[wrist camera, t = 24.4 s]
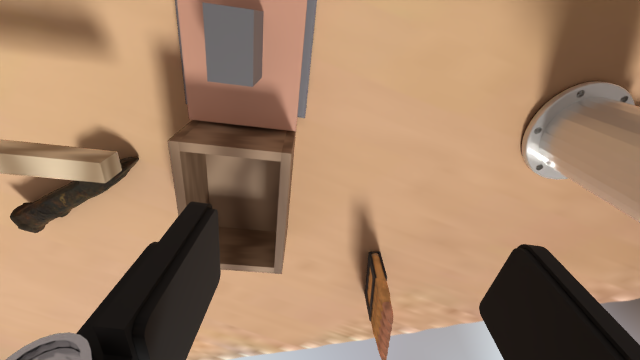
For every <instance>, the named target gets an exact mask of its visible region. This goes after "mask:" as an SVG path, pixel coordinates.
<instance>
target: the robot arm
mask: <svg viewBox="0 0 640 360" xmlns="http://www.w3.org/2000/svg"><path fill="white" fill-rule="evenodd" d="M522 156H523V159H524V162H525V163H526V165H527V166H528V167H529V168H530V169H531V170H532V171H534V172H535V173H537V174H538V175H540V176H542V177H545V178H548V179H568V178H569V179H570V180H572V181H574V182H575V183H577V184H578V185H580V186H582V187H583V188H585V189H586V190H588V191H590V192H591V193H593V194H594V195H596V196H598V197H599V198H601V199H602V200H604V201H606V202H607V203H609V204H611V205H612V206H614V207H615V208H617V209H619V210H620V211H622V212H623V213H625V214H627V215H628V216H630V217H631V218H633V219H635V220H636V221H638V222H639V223H640V107H639V106H635V103H634V100H633V98H632V96H631V94H630V93H629V92H628V91H627V90H626V89H624V88H623V87H621V86H619V85H616V84H612V83H608V82H600V81H596V82H587V83H583V84H579V85H576V86H573V87H571V88H568V89H566V90H564V91H563V92H561V93H559V94H558V95H556V96H555V97H553V98H552V99H551V100H549V101H548V102H547V103H546V104H545V105H544V106H543V107H542V108H541V109H540V110H539V111H538V112H537V113H536V115H535V116H534V117H533V119H532V120H531V121H530V123H529V125H528V127H527V129H526V131H525V134H524V137H523V141H522ZM220 272H221V271H220V248H219V224H218V211H217V210H216V209H212V205H211V204H209V203H201V202H193V201H192V202H190V203H189V204H188V205H187V206H186V207H185V209H184V210H183V211H182V213H181V214H180V215H179V216H178V218H177V219H176V220H175V222H174V223H173V224H172V225H171V227H170V228H169V229H168V230H167V232H166V233H165V234H164V236H163V237H162V238H161V239H160V241H159V242H153V243H151V244H150V245H149V246H148V247H147V248H146V249H145V250H144V251H143V253H142V254H141V255H140V256H139V258H138V259H137V260H136V261H135V262H134V264H133V265H132V266H131V267H130V269H129V270H128V271H127V272H126V273H125V275H124V276H123V277H122V278H121V280H120V281H119V282H118V283H117V284H116V286H115V287H114V288H113V289H112V291H111V292H110V293H109V294H108V296H107V297H106V298H105V299H104V300H103V302H102V303H101V304H100V305H99V307H98V308H97V309H96V310H95V311H94V313H93V314H92V315H91V316H90V318H89V319H88V320H87V321H86V323H85V324H84V325H83V326H82V327H81V329H80V330H79V331H78V332H77V334H74V333H59V334H53V335H50V336H47V337H43V338H40V339H38V340H36V341H34V342H32V343H30V344H28V345H26V346H24V347H23V348H21V349H20V350H18V351H17V352H15V353H14V354H12V355H11V356H10V357H8V358H7V359H6V360H186V358H187V356H188V353H189V351H190V349H191V346H192V344H193V342H194V339H195V337H196V335H197V332H198V330H199V328H200V325H201V323H202V321H203V318H204V316H205V314H206V311H207V309H208V307H209V304H210V302H211V300H212V297H213V295H214V292H215V290H216V288H217V285H218V283H219V279H220ZM479 310H480V314H481V316H482V318H483V320H484V322H485V324H486V326H487V328H488V330H489V332H490V334H491V336H492V338H493V339H494V341H495V343H496V345H497V347H498V349H499V351H500V353H501V355H502V357H503V359H504V360H640V345H639V344H638V343H637V342H636V341H635V340H634V339H633V338H632V337H631V336H630V335H629V334H628V333H627V332H626V331H625V330H624V328H623V327H622V326H621V325H620V324H619V323H618V322H617V321H616V320H615V319H614V318H613V317H612V316H611V315H610V314H609V313H608V312H607V311H606V310H605V309H604V308H603V307H602V306H601V305H600V304H599V303H598V302H597V301H596V299H595V298H594V297H593V296H592V295H591V294H590V293H589V292H588V291H587V290H586V289H585V288H584V287H583V286H582V285H581V284H580V283H579V282H578V281H577V280H576V279H575V278H574V277H573V276H572V275H571V274H570V273H569V272H568V271H567V269H566V268H565V267H564V266H563V265H562V264H561V263H560V262H559V261H558V260H557V259H556V258H555V257H554V256H553V255H552V254H551V253H550V252H549V251H548V250H547V249H546V248H544V247H541V246H534V245H526V244H523V245H520V246H519V247H518V248H516V249H514V250H513V251H512V253H511V254H510V256H509V257H508V259H507V261H506V262H505V264H504V266H503V267H502V269H501V270H500V272H499V274H498V275H497V277H496V278H495V280H494V282H493V283H492V285H491V287H490V288H489V290H488V291H487V293H486V295H485V296H484V298H483V299H482V301H481V303H480V306H479Z"/></svg>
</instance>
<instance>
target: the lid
mask: <svg viewBox="0 0 640 360" xmlns="http://www.w3.org/2000/svg"><path fill="white" fill-rule="evenodd" d="M177 6H178V16H179V25H180V35H181V45H182V55H183V65H184V75H185V84H186V94H187V104H188V114H189V119H191V120H200V121H209V122H218V123H227V124H235V125H244V126H253V127H262V128H271V129H280V130H289V131H296V126H297V114H298V103H299V91H300V80H301V68H302V57H303V45H304V34H305V22H306V11H307V0H177Z"/></svg>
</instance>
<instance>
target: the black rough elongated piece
mask: <svg viewBox="0 0 640 360" xmlns="http://www.w3.org/2000/svg"><path fill="white" fill-rule="evenodd" d="M138 160H139V158H137V157H131V158H126V159H122V160H120V164H121V168H122V171H121V172H119V173H118V174H117V175H115V176H114V177H113V178H112V179H110V180H109V181H108V182H106V183H97V182H86V181H76V180H75V181H73V182H71V183H70V184H68V185H66V186H64V187H62V188H61V189H58V190H56V191H54V192H51V193H49V194H48V195H47V196H44V197H43V198H41V199H40V200H38V201H36V202H34V203H23V205H21V206H19V207H17V208H16V209H14V210H13V212H12V213H11V216H10V219H11V220H12V221H13V222H14V223H15V224H16V225H17V226H18V228H19V229H22V230H25V231H29V232H33V233H38V232H39V231H41V230H43V229H44V227H45V225H46V224H47V223H48V222H49V221H51V220H53V219H55V218H57V217H64V216H66V215H67V214H68V213H69V212H70V211H71V209H72V208H74V207H76V206H78V205H80V204H81V203H83V202H85V201H86V200H88V199H90V198H92V197H95V196H97V195H99V194H101V193H103V192H104V191H106V190H108V189H109V188H110V187H111V186H113V185H115V184H116V183H117V182H119V181H120V180H121V179H122V178H123V177H125V176H126V175H127V173H128V172H129V171H130V169H131V168H132V167H133V166H134V165H135V164H136V162H137V161H138Z"/></svg>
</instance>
